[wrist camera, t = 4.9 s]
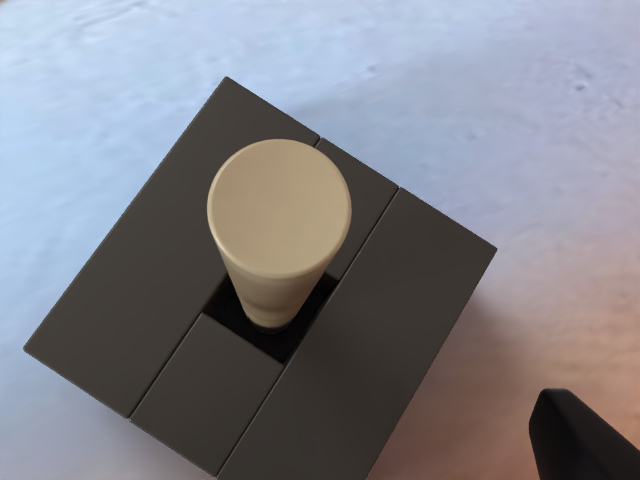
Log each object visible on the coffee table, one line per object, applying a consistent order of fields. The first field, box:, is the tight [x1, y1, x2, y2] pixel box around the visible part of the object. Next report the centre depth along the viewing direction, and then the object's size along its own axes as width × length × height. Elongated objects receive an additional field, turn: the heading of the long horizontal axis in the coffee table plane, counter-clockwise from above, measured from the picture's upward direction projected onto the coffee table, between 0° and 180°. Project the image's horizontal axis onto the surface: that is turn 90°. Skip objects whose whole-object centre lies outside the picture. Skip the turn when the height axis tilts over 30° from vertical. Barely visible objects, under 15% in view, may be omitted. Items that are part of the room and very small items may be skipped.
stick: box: [207, 139, 352, 334], centre depth 13 cm, size 2×2×14 cm
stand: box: [23, 77, 497, 480], centre depth 18 cm, size 9×9×4 cm
